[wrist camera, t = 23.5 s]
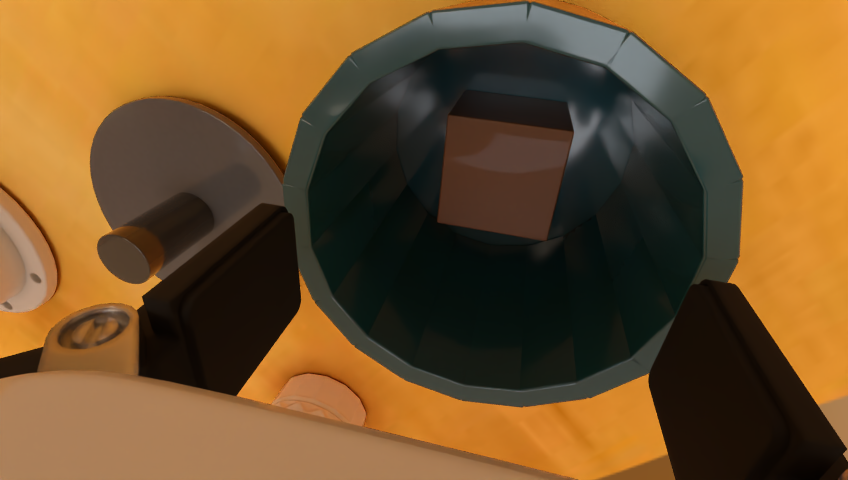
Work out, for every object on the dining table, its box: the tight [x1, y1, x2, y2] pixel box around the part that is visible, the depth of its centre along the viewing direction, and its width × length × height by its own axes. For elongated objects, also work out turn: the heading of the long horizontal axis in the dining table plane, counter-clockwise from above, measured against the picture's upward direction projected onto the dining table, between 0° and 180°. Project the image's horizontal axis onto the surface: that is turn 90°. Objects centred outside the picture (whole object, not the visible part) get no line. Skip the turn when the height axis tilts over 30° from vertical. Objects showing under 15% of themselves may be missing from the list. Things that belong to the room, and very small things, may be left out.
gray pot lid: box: [90, 96, 284, 284], centre depth 24 cm, size 13×13×6 cm
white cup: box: [271, 373, 366, 427], centre depth 29 cm, size 8×8×10 cm
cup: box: [282, 0, 743, 407], centre depth 16 cm, size 12×12×10 cm
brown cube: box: [437, 90, 574, 241], centre depth 18 cm, size 4×4×4 cm
